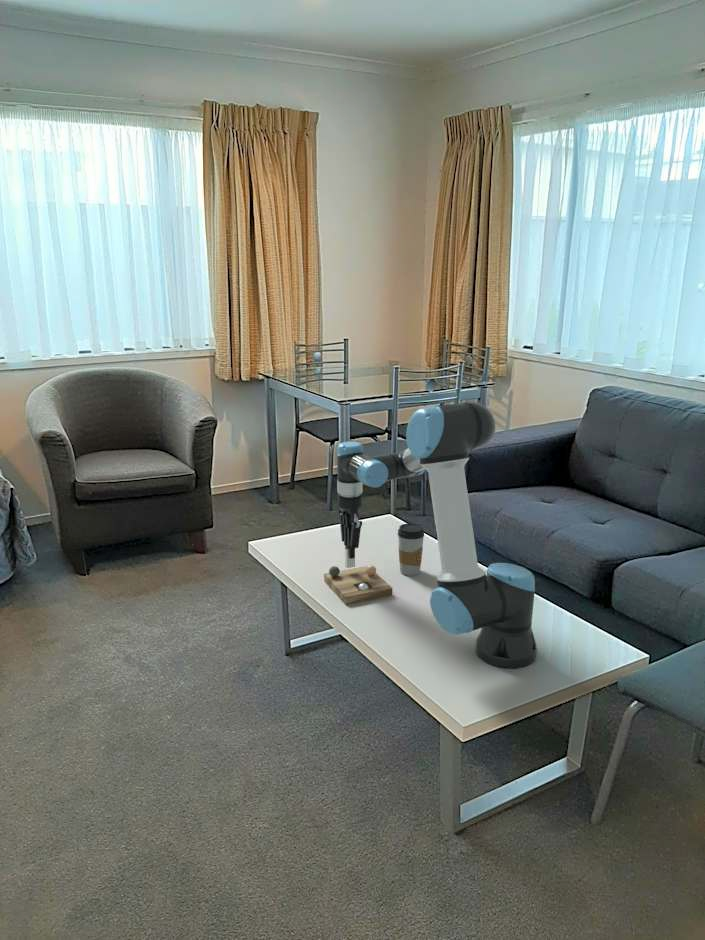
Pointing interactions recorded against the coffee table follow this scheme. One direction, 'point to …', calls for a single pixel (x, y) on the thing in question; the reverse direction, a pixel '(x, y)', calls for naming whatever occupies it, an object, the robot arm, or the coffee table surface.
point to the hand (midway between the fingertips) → (350, 566)
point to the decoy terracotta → (370, 570)
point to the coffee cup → (410, 548)
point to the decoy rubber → (334, 571)
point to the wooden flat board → (351, 579)
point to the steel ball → (363, 586)
